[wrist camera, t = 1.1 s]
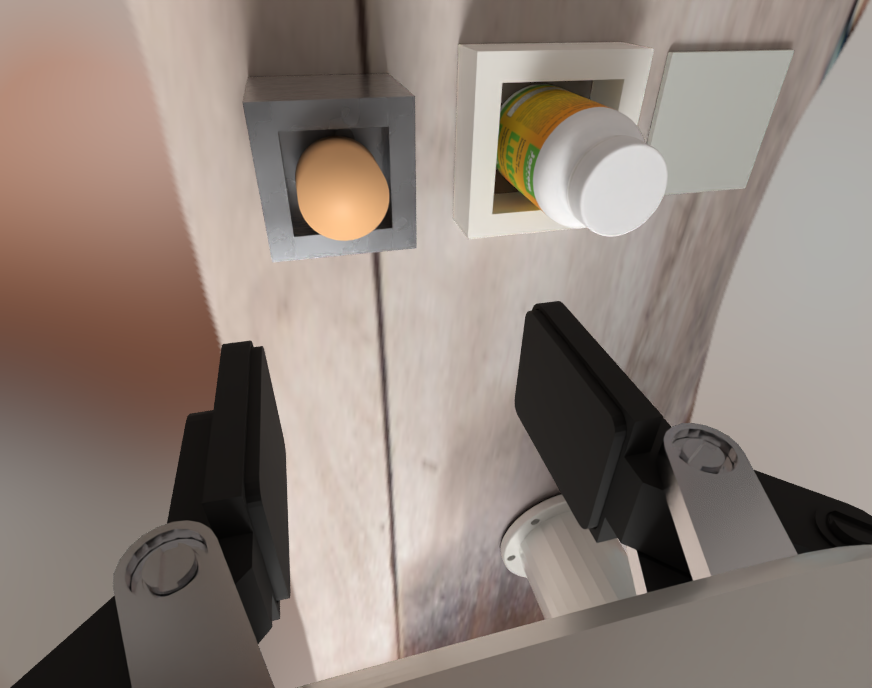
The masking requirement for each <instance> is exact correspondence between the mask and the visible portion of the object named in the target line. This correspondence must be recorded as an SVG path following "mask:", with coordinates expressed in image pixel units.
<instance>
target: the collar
mask: <svg viewBox="0 0 872 688" xmlns="http://www.w3.org/2000/svg"><path fill="white" fill-rule="evenodd" d="M653 53H654V48H650V47H645V46H640V45H635V44H630V43H625V42H579V43H510V44H458V72H457V103H456V135H455V166H454V197H453V220H454V221H455V222H456V224H457V225H458V226H459V228H460V229H461V230H462V232H463V233H464V234H465V236H466V237H467V239H475V238H485V237H495V236H506V235H516V234H526V233H537V232H547V231H557V230H567V229H578V228H571V227H567V226H564V225H561V224H559V223H557V222H555V221H554V220H552V219H551V218H550V217H548V216H547V215H546V214H545V213H544V212H543V211H541V210H540V209H539V208H538V207H537V206H536V205H535V204H533V203H532V202H531V201H530V200H529V199H528V198H527V197H525V196H524V195H523V194H522V193H521V192H513V193H501V194H494V185H495V172H496V159H497V146H498V133H499V120H500V107H501V94H502V83H513V82H545V81H577V80H593V83H592V89H591V95H590V100H592V101H595V102H597V103H600V104H602V105H605V106H607V107H610V108H612V109H615V110H617V111H619V112H620V113H622V114H624V115H626V116H627V117H629V118H630V119H631V120H632V121H633V122H634V123H635V124H636V125H638V121H639V116H640V112H641V107H642V102H643V98H644V93H645V89H646V84H647V80H648V75H649V71H650V66H651V62H652V57H653ZM586 228H587V227H586Z"/></svg>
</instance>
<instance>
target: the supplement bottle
mask: <svg viewBox="0 0 872 688" xmlns="http://www.w3.org/2000/svg"><path fill="white" fill-rule="evenodd" d="M496 169H497V170H498V171H499V173H500V174H501V175H502V176H503V177H504V178H505V179H506V180H507V181H508V182H510V183H511V184H512V185H513V186H514V187H515V188H516V189H518V190H519V191H520V192H521V193H522V194H523V195H524V196H525V197H527V198H528V199H529V200H530V201H531V202H532V203H533V204H535V205H536V206H537V207H538V208H539V209H540V210H541V211H543V212H544V213H545V214H546V215H547V216H548V217H550V218H551V219H552V220H554V221H555V222H557V223H559V224H561V225H564V226H567V227H571V228H586V227H587V228H588V229H590V230H591V231H593V232H594V233H596V234H599V235H602V236H608V237H612V236H620V235H623V234H626V233H629V232H631V231H633V230H635V229H636V228H638V227H639V226H641V225H642V224H643V223H644V222H646V221H647V220H648V219H649V218H650V216H651V215H652V214H653V213H654V212H655V210H656V209H657V207H658V206H659V204H660V202H661V200H662V198H663V196H664V193H665V190H666V186H667V180H668V171H667V165H666V162H665V160H664V158H663V156H662V154H661V153H660V152H659V151H658V150H657V149H655V148H654V147H653V146H651V145H649V144H647V143H645V141H644V138H643V135H642V133H641V131H640V130H639V128H638V126H637V125H636V124H635V123H634V122H633V121H632V120H631V119H630V118H629V117H627V116H626V115H624V114H622V113H620V112H619V111H617V110H615V109H612V108H610V107H607V106H605V105H602V104H600V103H597V102H595V101H592V100H589V99H587V98H584V97H582V96H579V95H577V94H574V93H572V92H569V91H567V90H565V89H562V88H560V87H557V86H554V85H550V84H534V85H530V86H527V87H525V88H522V89H520V90H519V91H517V92H516V93H514V94H513V95H512V96H510V97H509V98H508V99H507V100H506V101H505V102H504V104H503V105H502V106H501V108H500V120H499V133H498V146H497V159H496Z"/></svg>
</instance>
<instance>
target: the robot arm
mask: <svg viewBox="0 0 872 688" xmlns="http://www.w3.org/2000/svg"><path fill="white" fill-rule="evenodd" d="M515 409H516V412H517V415H518V417H519V418H520V420H521V422H522V424H523V426H524V427H525V429H526V431H527V433H528V434H529V436H530V438H531V440H532V442H533V443H534V445H535V447H536V449H537V451H538V452H539V454H540V456H541V458H542V459H543V461H544V463H545V465H546V467H547V468H548V470H549V472H550V474H551V476H552V477H553V479H554V481H555V483H556V484H557V486H558V488H559V490H560V492H561V493H562V494H561V495H557V496H555V497H552V498H549V499H547V500H545V501H543V502H541V503H539V504H537V505H535V506H534V507H532V508H531V509H529V510H528V511H526V512H525V513H524V514H522V515H521V516H520V517H519V518H518V519H517V520H516V521H515V522H514V523H513V524H512V525H511V526H510V528H509V529H508V531H507V532H506V534H505V535H504V537H503V540H502V543H501V550H500V552H501V556H502V559H503V561H504V563H505V566H506V567H507V568H508V569H509V571H510V572H512V573H514V574H516V575H519V576H522V577H527V578H528V581H529V583H530V585H531V588H532V590H533V592H534V595H535V597H536V599H537V602H538V604H539V607H540V609H541V611H542V614H543V616H544V618H545V620H543V621H539V622H535V623H532V624H528V625H524V626H520V627H517V628H513V629H509V630H506V631H502V632H498V633H494V634H491V635H487V636H483V637H479V638H476V639H472V640H468V641H465V642H461V643H457V644H454V645H450V646H446V647H443V648H439V649H435V650H432V651H428V652H424V653H421V654H417V655H413V656H410V657H406V658H402V659H399V660H395V661H391V662H388V663H384V664H380V665H377V666H373V667H369V668H366V669H362V670H358V671H355V672H351V673H347V674H344V675H340V676H336V677H333V678H329V679H325V680H322V681H318V682H314V683H311V684H307V685H304V686H301V687H297V688H872V516H871V515H869V514H868V513H866V512H865V511H863V510H861V509H859V508H856V507H854V506H852V505H849V504H847V503H844V502H842V501H839V500H836V499H833V498H831V497H827V496H825V495H822V494H820V493H817V492H814V491H811V490H808V489H805V488H803V487H800V486H797V485H794V484H792V483H789V482H786V481H783V480H781V479H777V478H775V477H772V476H769V475H767V474H764V473H761V472H758V471H756V470H753V468H752V466H751V464H750V462H749V460H748V459H747V457H746V455H745V453H744V452H743V450H742V449H741V447H740V446H739V445H738V444H737V443H736V442H735V441H734V440H733V439H731V438H730V437H729V436H728V435H726V434H724V433H722V432H720V431H718V430H717V429H714V428H711V427H708V426H705V425H700V424H695V423H684V424H679V425H676V426H672V427H671V426H670V425H669V424H668V423H667V421H666V420H665V419H664V418H663V416H662V415H661V414H660V413H659V411H658V410H657V409H656V408H655V407H654V406H653V405H652V403H651V402H650V401H649V400H648V399H647V398H646V397H645V396H644V394H643V393H642V392H641V391H640V390H639V389H638V388H637V387H636V385H635V384H634V383H633V382H632V381H631V380H630V379H629V377H628V376H627V375H626V374H625V373H624V372H623V371H622V370H621V368H620V367H619V366H618V365H617V364H616V363H615V362H614V361H613V359H612V358H611V357H610V356H609V355H608V354H607V353H606V351H605V350H604V349H603V348H602V347H601V346H600V345H599V344H598V342H597V341H596V340H595V339H594V338H593V337H592V336H591V335H590V333H589V332H588V331H587V330H586V329H585V328H584V327H583V325H582V324H581V323H580V322H579V321H578V320H577V319H576V318H575V316H574V315H573V314H572V313H571V312H570V311H569V310H568V309H567V307H566V306H565V305H564V304H563V303H562V302H560V301H555V302H547V303H539V304H536V305H534V307H533V309H532V311H528V312H527V314H526V317H525V324H524V332H523V339H522V347H521V355H520V362H519V370H518V378H517V385H516V393H515ZM617 538H618V539H619V540H618V539H617ZM619 541H620V542H619ZM620 543H622V544H624V545H626V551H627V553H626V552H625V550H624V549H623V547H622V545H621V544H620ZM113 590H114V595H115V596H113V597H112V598H111V599H110V600H109V601H108V602H107V603H106V604H104V605H103V606H102V607H101V608H100V609H99V610H98V611H96V612H95V613H94V614H93V615H92V616H91V617H90V618H89V619H88V620H87V621H85V622H84V623H83V624H82V625H81V626H80V627H79V628H77V629H76V630H75V631H74V632H73V633H72V634H70V635H69V636H68V637H67V638H66V639H65V640H64V641H63V642H61V643H60V644H59V645H58V646H57V647H56V648H55V649H54V650H52V651H51V652H50V653H49V654H48V655H47V656H46V657H44V658H43V659H42V660H41V661H40V662H39V663H38V664H37V665H35V666H34V667H33V668H32V669H31V670H30V671H29V672H28V673H26V674H25V675H24V676H23V677H22V678H21V679H20V680H19V681H18V682H16V683H15V684H14V685H13V686H12V687H11V688H275V687H274V685H273V682H272V679H271V677H270V674H269V672H268V669H267V666H266V664H265V661H264V659H263V656H262V653H261V651H260V648H259V646H258V644H259V642H260V641H261V640H262V639H263V638H264V636H265V635H266V634H267V633H268V632H269V630H270V629H271V628H272V621H274V620H278V619H280V600H283V599H288V598H290V564H289V534H288V505H287V475H286V451H285V443H284V438H283V433H282V429H281V424H280V419H279V415H278V410H277V406H276V401H275V397H274V392H273V388H272V383H271V378H270V374H269V369H268V365H267V360H266V356H265V351H264V348H263V346H260V347H253V344H252V341H244V342H236V343H228V344H223V345H222V348H221V356H220V365H219V373H218V381H217V388H216V396H215V403H214V410H212V411H205V412H198V413H192V414H189V415H188V417H187V420H186V424H185V429H184V435H183V441H182V446H181V451H180V456H179V462H178V467H177V473H176V478H175V484H174V489H173V494H172V499H171V505H170V511H169V516H168V521H167V524H165V525H162V526H159V527H156V528H155V529H153V530H151V531H149V532H148V533H146V534H144V535H142V536H141V537H140V538H139V539H138V540H137V541H135V542H134V543H133V544H132V545H131V546H130V547H129V548H128V549H127V550H126V552H125V553H124V554H123V556H122V557H121V558H120V560H119V562H118V564H117V567H116V569H115V572H114V577H113Z"/></svg>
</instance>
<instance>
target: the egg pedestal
mask: <svg viewBox="0 0 872 688" xmlns="http://www.w3.org/2000/svg"><path fill="white" fill-rule="evenodd" d="M243 107H244V113H245V118H246V123H247V129H248V134H249V140H250V145H251V150H252V156H253V161H254V166H255V172H256V177H257V183H258V188H259V193H260V199H261V204H262V209H263V215H264V220H265V226H266V231H267V236H268V242H269V247H270V253H271V258H272V262H280V261H291V260H301V259H311V258H321V257H331V256H341V255H351V254H361V253H372V252H382V251H392V250H402V249H412V248H416V160H415V96H414V95H413V94H412V93H411V92H409V91H408V90H407V89H406V88H405V87H404V86H402V85H401V84H400V83H399V82H398V81H397V80H395V79H394V78H393V77H392V76H391V75H389V74H388V73H380V74H342V75H303V76H265V77H248V79H247V83H246V88H245V93H244V98H243ZM329 136H343V137H348V138H351V139H353V140H356V141H357V142H359V143H361V144H362V145H363V146H365V147H366V148H367V149H368V150H369V151H370V153H371V154H372V155H373V157H374V159H375V161H376V162H377V164H378V166H379V168H380V170H381V171H382V173H383V175H384V177H385V179H386V181H387V184H388V188H389V205H388V209H387V212H386V214H385V216H384V218H383V220H382V221H381V223H380V224H379V225H378V226H377V227H376V228H375V229H374V230H373V231H372V232H370V233H369V234H367V235H365V236H363V237H361V238H358V239H354V240H348V241H341V240H334V239H330V238H327V237H325V236H323V235H321V234H319V233H318V232H316V231H315V230H314V229H312V228H311V227H310V226H309V224H308V223H307V222H306V221H305V219H304V217H303V215H302V214H301V211H300V208H299V204H298V197H297V189H296V180H295V172H296V166H297V163H298V160H299V158H300V156H301V155H302V153H303V152H304V151H305V149H306V148H307V147H308V146H310V145H311V144H312V143H314V142H315V141H317V140H319V139H322V138H325V137H329Z"/></svg>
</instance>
